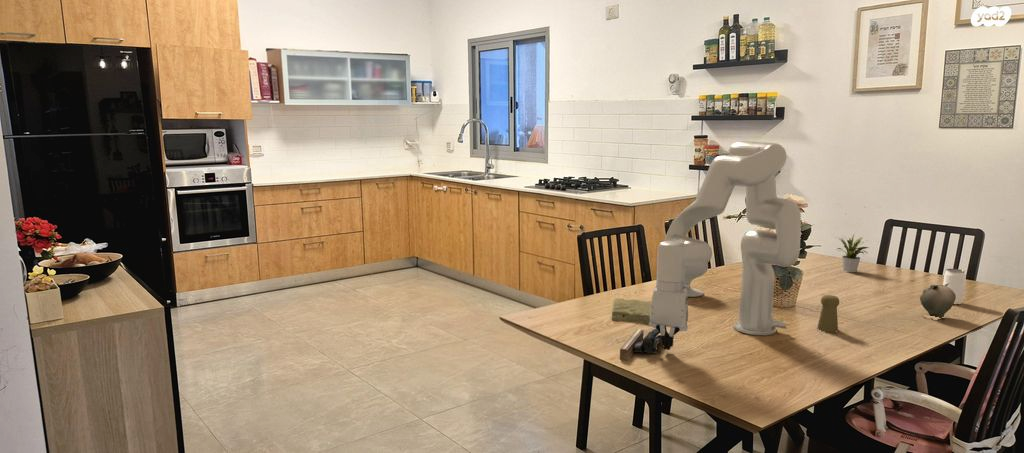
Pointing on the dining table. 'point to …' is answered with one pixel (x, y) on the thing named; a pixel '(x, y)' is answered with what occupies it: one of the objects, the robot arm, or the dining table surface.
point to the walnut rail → (631, 344)
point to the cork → (828, 314)
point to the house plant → (851, 255)
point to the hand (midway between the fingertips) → (667, 348)
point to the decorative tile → (631, 310)
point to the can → (955, 282)
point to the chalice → (692, 274)
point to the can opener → (649, 342)
